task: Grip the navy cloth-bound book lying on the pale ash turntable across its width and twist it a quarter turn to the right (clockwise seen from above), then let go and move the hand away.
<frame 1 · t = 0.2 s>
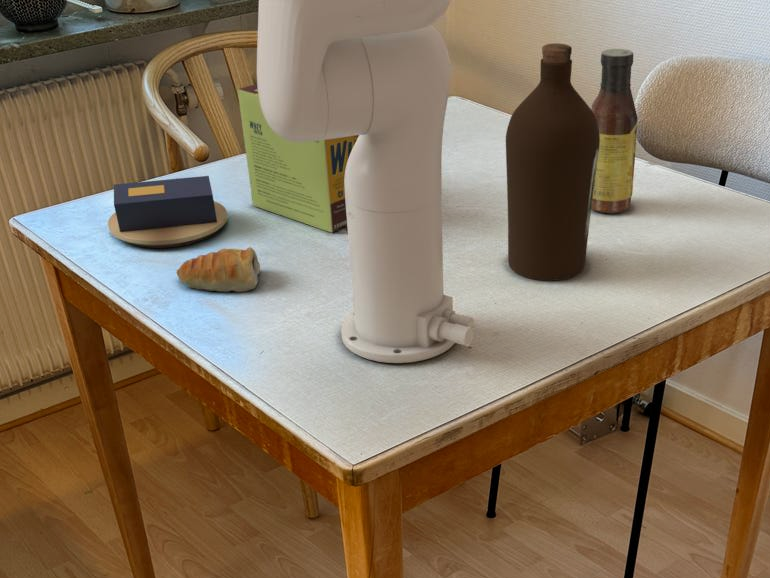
turntable base: (170, 227, 131), on the table
protein box: (319, 209, 137), on the table
sauce bottle: (607, 207, 138), on the table
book: (165, 205, 129), point 3 cm above the table, hinge at 0.0°
olive oil: (547, 266, 123), on the table
pastry: (226, 283, 119), on the table
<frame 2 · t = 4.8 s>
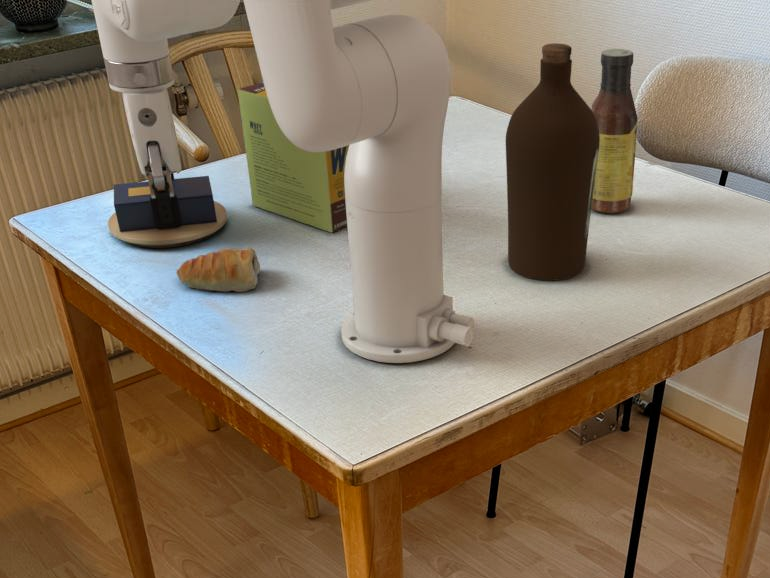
hand: (167, 214, 130), 2 cm above the table, tool pointing down, fingers closed on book, 7 cm apart
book: (165, 205, 129), point 3 cm above the table, hinge at 0.0°, touching gripper
everything else where it was.
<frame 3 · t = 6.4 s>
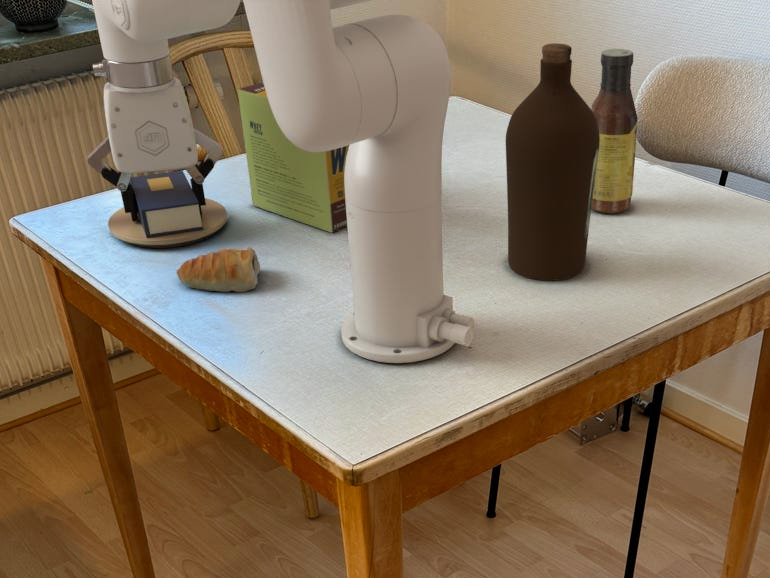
hand: (166, 213, 130), 2 cm above the table, tool pointing down, fingers closed on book, 7 cm apart
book: (165, 205, 129), point 3 cm above the table, hinge at -83.7°, touching gripper
everything else where it was.
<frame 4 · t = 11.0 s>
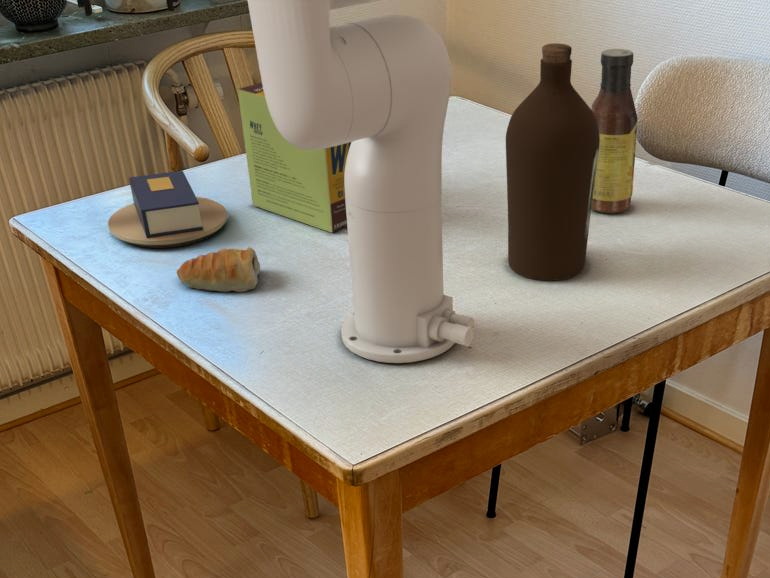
hand: (130, 11, 123), 24 cm above the table, tool pointing down, fingers open, 9 cm apart
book: (165, 205, 129), point 3 cm above the table, hinge at -83.7°
everything else where it was.
at the end: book at -84° (first picture: +0°); the gripper is holding nothing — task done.
